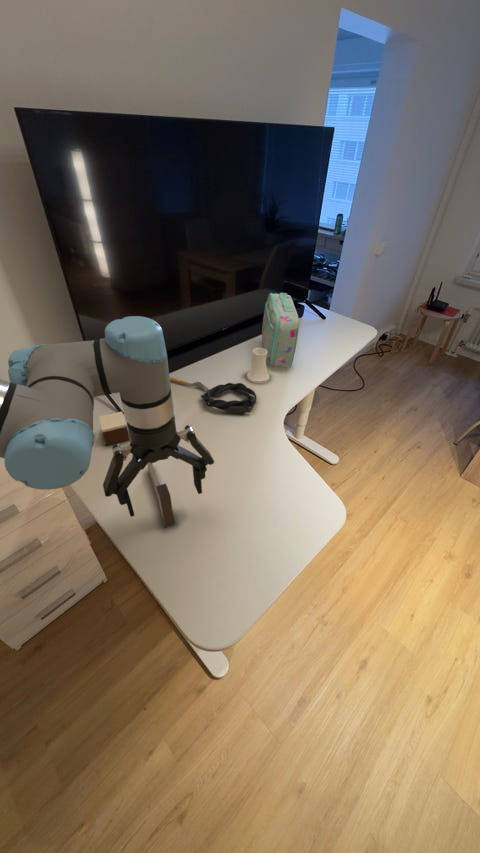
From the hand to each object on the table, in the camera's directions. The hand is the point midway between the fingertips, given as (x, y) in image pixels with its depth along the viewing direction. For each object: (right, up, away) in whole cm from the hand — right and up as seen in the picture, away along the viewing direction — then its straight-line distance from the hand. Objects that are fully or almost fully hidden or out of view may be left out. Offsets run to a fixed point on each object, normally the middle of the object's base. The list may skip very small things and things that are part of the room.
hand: (165, 499), depth 68 cm
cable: (+11, +22, +38) cm, 46 cm away
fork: (-4, +28, +45) cm, 53 cm away
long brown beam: (-3, -1, +9) cm, 10 cm away
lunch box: (+28, +42, +63) cm, 81 cm away
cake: (-19, +12, +24) cm, 33 cm away
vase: (+21, +31, +50) cm, 62 cm away
